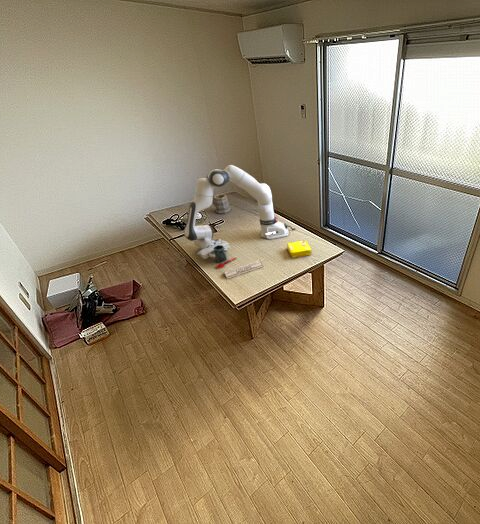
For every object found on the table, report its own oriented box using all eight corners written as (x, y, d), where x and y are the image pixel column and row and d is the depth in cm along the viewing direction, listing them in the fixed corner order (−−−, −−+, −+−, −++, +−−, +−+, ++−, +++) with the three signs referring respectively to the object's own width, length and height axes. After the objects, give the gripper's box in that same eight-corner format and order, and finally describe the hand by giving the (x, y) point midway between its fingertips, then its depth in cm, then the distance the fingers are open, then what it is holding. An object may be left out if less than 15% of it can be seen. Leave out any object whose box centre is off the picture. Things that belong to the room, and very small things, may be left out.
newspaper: (258, 262, 193) (258, 259, 192) (262, 266, 188) (262, 264, 187) (224, 273, 182) (223, 271, 180) (227, 279, 177) (226, 276, 176)
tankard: (233, 209, 265) (229, 194, 256) (222, 214, 256) (218, 198, 247) (219, 205, 273) (215, 190, 265) (208, 209, 265) (203, 194, 256)
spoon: (234, 257, 197) (233, 256, 196) (237, 259, 195) (237, 258, 194) (215, 267, 187) (214, 265, 187) (218, 269, 185) (218, 268, 185)
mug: (214, 260, 194) (211, 247, 188) (223, 256, 198) (220, 244, 193) (222, 265, 189) (219, 252, 183) (231, 261, 193) (228, 248, 188)
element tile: (286, 248, 208) (286, 242, 205) (306, 244, 212) (305, 239, 209) (291, 258, 196) (290, 252, 193) (312, 254, 201) (311, 249, 198)
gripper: (194, 249, 190) (205, 256, 183) (221, 237, 203) (232, 243, 196) (197, 257, 193) (208, 264, 186) (223, 245, 206) (234, 251, 199)
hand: (220, 253), depth 191 cm, fingers open, 7 cm apart
